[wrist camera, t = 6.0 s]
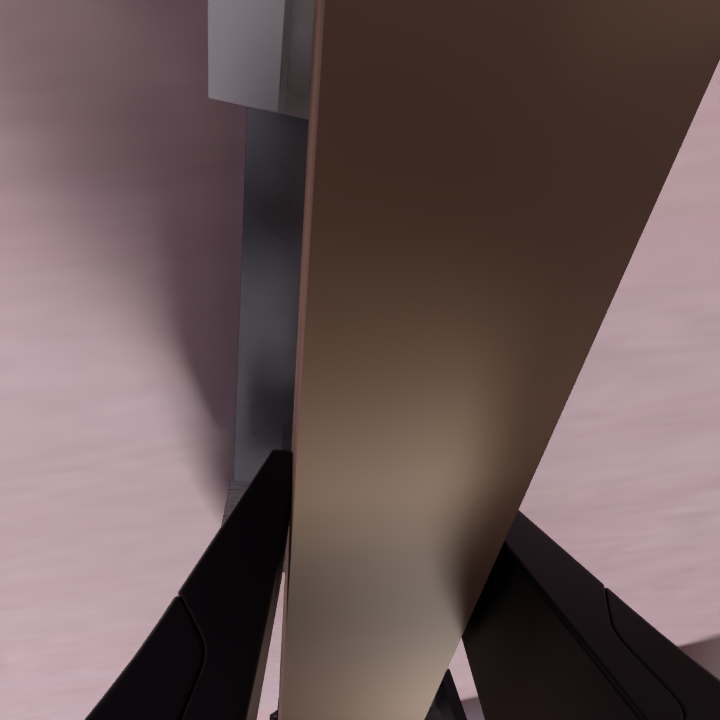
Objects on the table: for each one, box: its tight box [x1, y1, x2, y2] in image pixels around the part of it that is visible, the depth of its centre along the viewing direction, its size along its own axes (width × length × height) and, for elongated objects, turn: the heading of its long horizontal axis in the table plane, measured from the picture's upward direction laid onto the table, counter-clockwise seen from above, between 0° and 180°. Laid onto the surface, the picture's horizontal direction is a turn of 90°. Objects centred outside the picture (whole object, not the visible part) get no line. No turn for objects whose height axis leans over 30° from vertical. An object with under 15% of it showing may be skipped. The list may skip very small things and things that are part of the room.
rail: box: [278, 0, 720, 720], centre depth 8 cm, size 22×3×4 cm, turn 173°
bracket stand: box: [208, 0, 315, 572], centre depth 13 cm, size 23×7×8 cm, turn 170°
